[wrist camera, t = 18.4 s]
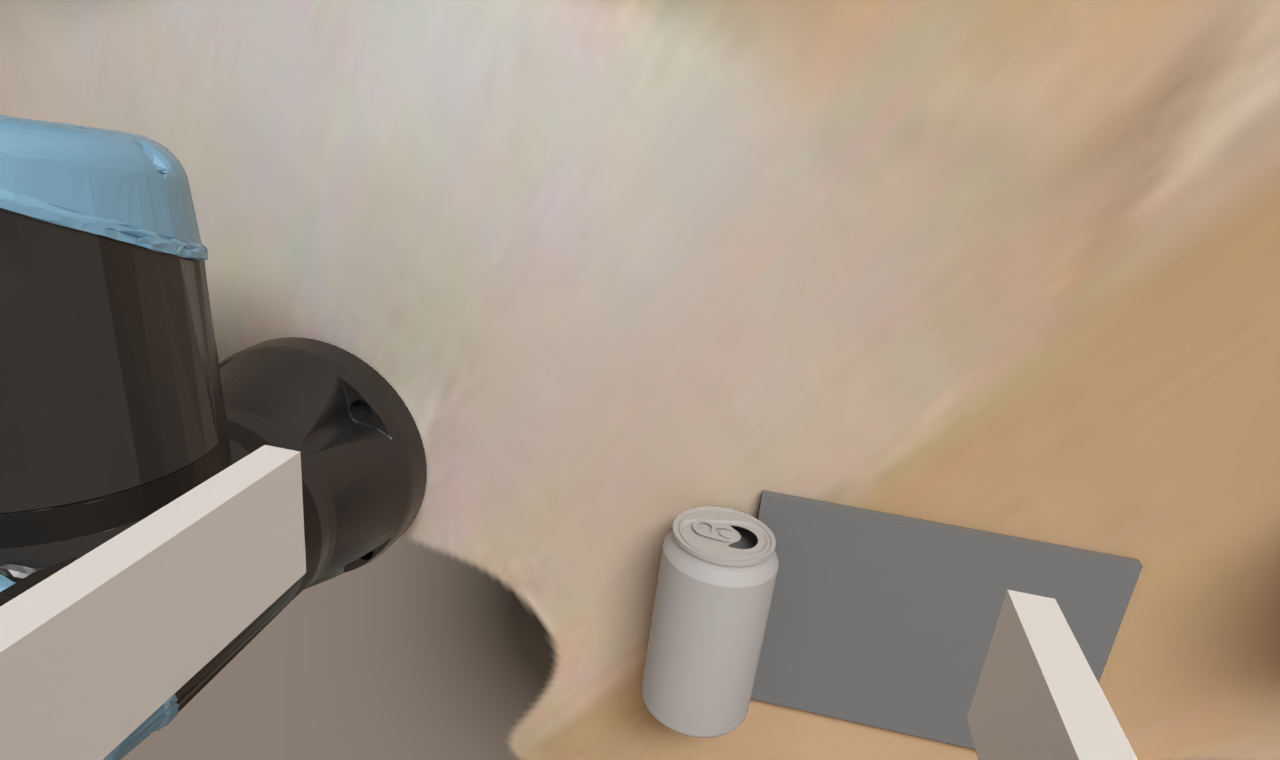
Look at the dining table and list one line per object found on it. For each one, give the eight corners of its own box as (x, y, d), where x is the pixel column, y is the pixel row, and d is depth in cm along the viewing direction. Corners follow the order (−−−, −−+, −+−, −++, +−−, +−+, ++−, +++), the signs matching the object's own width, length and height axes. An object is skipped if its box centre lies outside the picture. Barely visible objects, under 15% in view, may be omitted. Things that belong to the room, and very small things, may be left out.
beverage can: (743, 759, 43) (783, 575, 39) (629, 732, 44) (657, 549, 40) (748, 681, 49) (784, 514, 45) (648, 658, 50) (674, 492, 46)
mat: (728, 686, 49) (727, 693, 49) (762, 490, 45) (762, 494, 44) (1062, 762, 46) (1065, 769, 46) (1138, 559, 42) (1142, 565, 41)
